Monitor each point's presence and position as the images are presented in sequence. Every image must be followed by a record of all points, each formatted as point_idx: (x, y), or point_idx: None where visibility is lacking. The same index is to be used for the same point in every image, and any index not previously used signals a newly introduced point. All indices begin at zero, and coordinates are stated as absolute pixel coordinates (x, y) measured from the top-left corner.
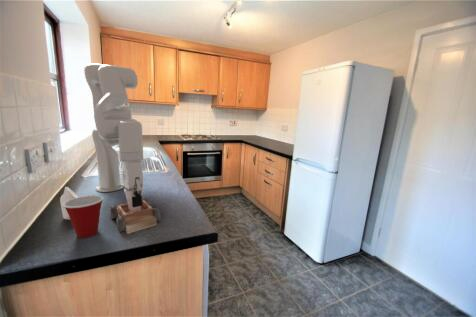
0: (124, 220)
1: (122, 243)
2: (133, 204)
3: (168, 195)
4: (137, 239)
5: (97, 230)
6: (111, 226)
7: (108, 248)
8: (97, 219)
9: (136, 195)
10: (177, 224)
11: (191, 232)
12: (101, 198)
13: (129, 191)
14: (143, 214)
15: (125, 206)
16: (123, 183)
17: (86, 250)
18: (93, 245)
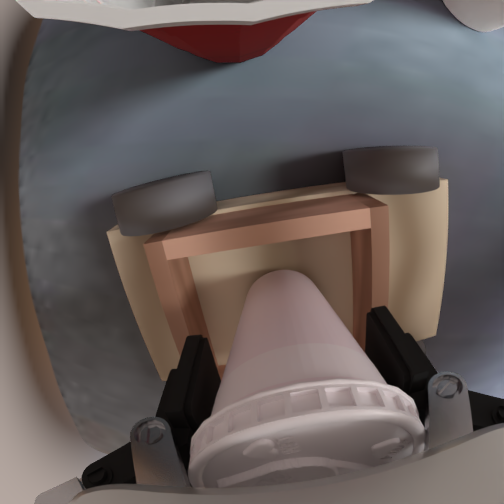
0: (124, 232)
1: (54, 195)
2: (185, 356)
3: None
4: (66, 259)
5: (211, 60)
6: (257, 136)
7: (40, 138)
8: (166, 42)
9: (119, 452)
10: (149, 412)
11: (86, 417)
12: (249, 4)
13: (203, 455)
14: None
15: (365, 262)
16: (435, 479)
17: (65, 51)
18: (87, 67)
